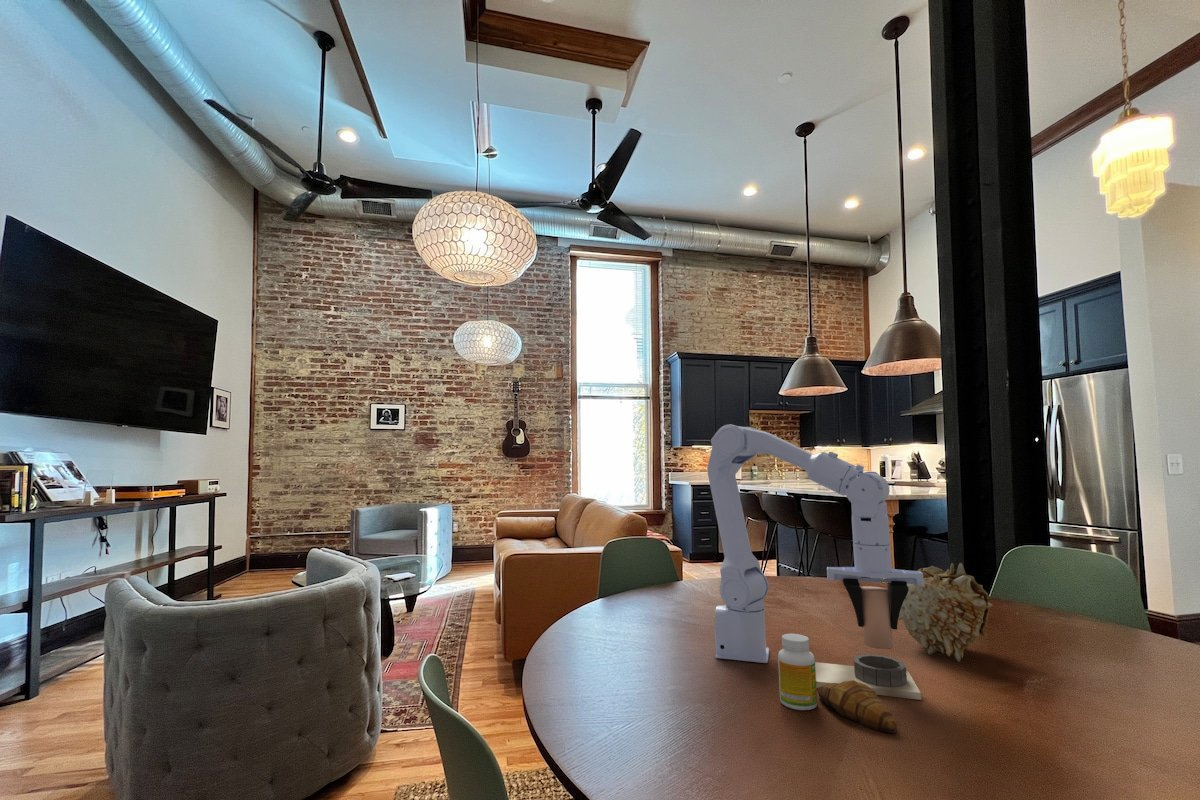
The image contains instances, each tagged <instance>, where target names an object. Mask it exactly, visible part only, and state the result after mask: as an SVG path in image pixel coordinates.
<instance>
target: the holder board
mask: <svg viewBox="0 0 1200 800" xmlns="http://www.w3.org/2000/svg"><path fill="white" fill-rule="evenodd" d="M815 670H816V689H818V688H819V687H820V686H822V685H824V684H828V683H842V682H844V681H851V680H854V681H857V682H859V683H862V684H865V685H867V686H869V687H870V688H871V689H873V690H874V691H875V693H876V695H877V696H883V697H884V696H885V697H895V698H903V699H911V700H920V701H921V700H922V693H921V690H920V689H919V687H918V686H917V684H916V682H915V680H914V679H913V677H912V675H911V674H910V672H909V671H907V666H906V664H905V663H904V662H903V661H901V660H899V659H896V658H894V657H890V656H886V655H880V654H858V655H856V656H854V657H853V665H848V664H838V663H837V664H836V663H826V662H818V661H815Z"/></svg>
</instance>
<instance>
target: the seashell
mask: <svg viewBox="0 0 1200 800" xmlns="http://www.w3.org/2000/svg"><path fill="white" fill-rule="evenodd" d="M917 571H920V572H921V573H923V582H924V585H916V584H907V586H908V588H909V590H908V594H907V596H906V598H905V600H904V602H903V604H902V607H901V610H900V613H899V618H898V621H900V620H902V621H903V624H904V626H905V628H906V630H907V632H908V634H909V635H910V636H911V637H912V638H913V639H914V640H915V641H916V642H917V643H918V644H919V645H921V646H922V647H924V648H925V649H926V650H927V653H928V655H932V654H934V653H935V652H941V654H944V653H945V654H946V655H947V656H948V657H951V655H952V654H953V657H954V658H955V660H956V662H958V663H960V662H961V660H962V659H963V657H964V650H965V648H967V647H968V646H970V645H971V644H972V643H974V642H975V641H976V640H977V639H978V637H979V636H981V637H985V638H988V635H987V633H986V629H987V628H988V619H989V615H990V609H991V607H992V606H994V604H993V603H992V602H991V600H992V597H991V596H989V594H988V592H987V591H986V590H985V589H984V588H983V584H979V583H978V582H977V581H976V579H975V577H974V576H972V575H969V574H967V573H966V570H965V568H964V565H963V563H962V562H959V564H958V566H957V569H956V570H955V565H954V563H953V562H951V564H950V567H949V568H947V570H943V569H941V568H939V567H937V566H934V565H930V566H929V567H921V568H919V569H917Z"/></svg>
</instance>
